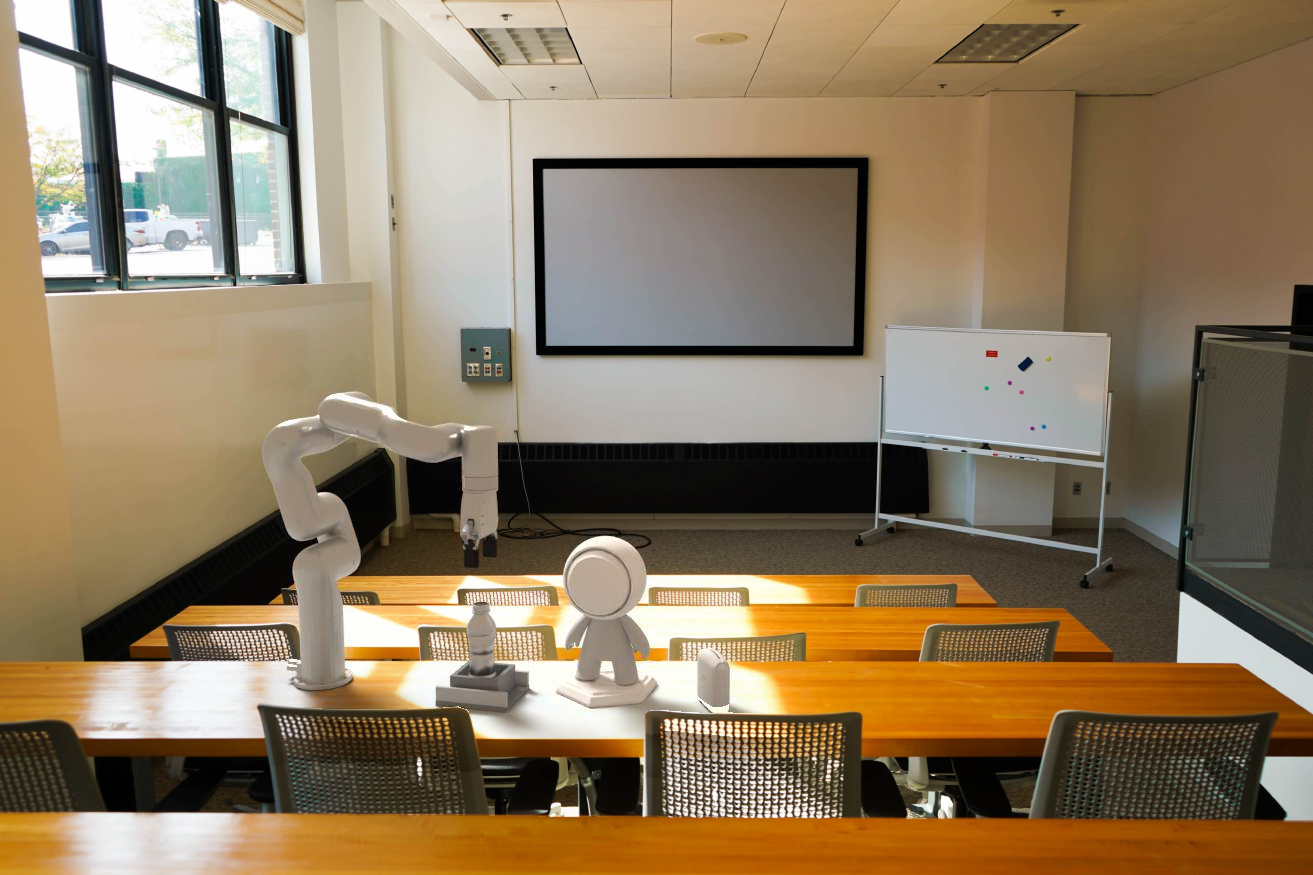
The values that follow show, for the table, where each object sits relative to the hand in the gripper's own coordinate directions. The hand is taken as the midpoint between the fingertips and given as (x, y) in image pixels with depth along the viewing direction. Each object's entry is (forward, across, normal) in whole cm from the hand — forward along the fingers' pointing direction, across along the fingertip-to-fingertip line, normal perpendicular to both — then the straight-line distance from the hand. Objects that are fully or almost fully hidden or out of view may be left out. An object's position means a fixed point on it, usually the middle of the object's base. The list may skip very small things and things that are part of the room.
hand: (481, 562), depth 209 cm
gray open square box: (+30, 0, 0) cm, 30 cm away
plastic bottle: (+29, 0, 0) cm, 29 cm away
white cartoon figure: (+30, -11, +25) cm, 41 cm away
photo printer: (+30, -6, +50) cm, 59 cm away
